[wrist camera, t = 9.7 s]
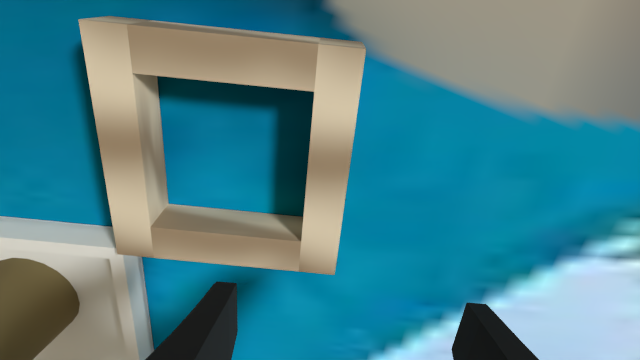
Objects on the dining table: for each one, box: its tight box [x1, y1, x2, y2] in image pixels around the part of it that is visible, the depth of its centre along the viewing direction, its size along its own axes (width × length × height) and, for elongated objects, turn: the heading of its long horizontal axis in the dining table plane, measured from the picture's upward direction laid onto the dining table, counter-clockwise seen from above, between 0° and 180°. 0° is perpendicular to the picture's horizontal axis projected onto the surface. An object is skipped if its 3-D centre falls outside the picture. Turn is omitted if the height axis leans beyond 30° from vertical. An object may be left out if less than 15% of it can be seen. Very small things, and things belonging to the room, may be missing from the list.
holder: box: [78, 16, 366, 275], centre depth 20 cm, size 12×12×2 cm
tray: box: [0, 216, 154, 360], centre depth 26 cm, size 14×14×2 cm
